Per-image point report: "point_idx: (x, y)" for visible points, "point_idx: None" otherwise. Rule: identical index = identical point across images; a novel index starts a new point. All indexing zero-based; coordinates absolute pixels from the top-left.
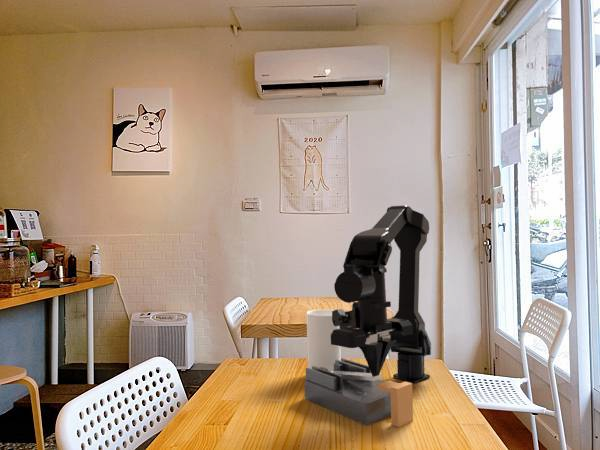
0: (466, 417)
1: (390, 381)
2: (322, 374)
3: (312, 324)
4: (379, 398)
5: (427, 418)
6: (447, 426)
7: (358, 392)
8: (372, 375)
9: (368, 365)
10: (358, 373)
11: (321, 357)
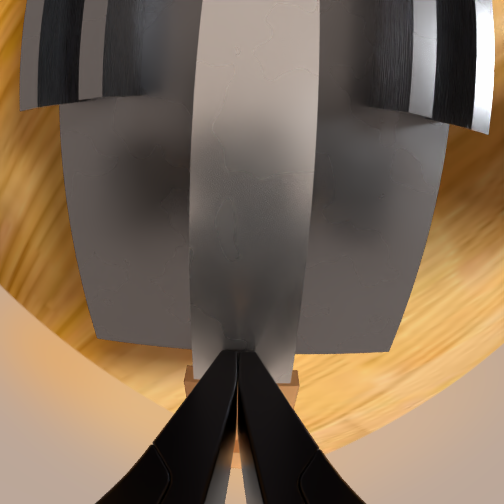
0: (388, 408)
1: (287, 395)
2: None
3: None
4: (188, 345)
5: (326, 371)
6: (309, 413)
7: (160, 224)
8: (222, 351)
9: (183, 404)
10: (269, 146)
11: None
